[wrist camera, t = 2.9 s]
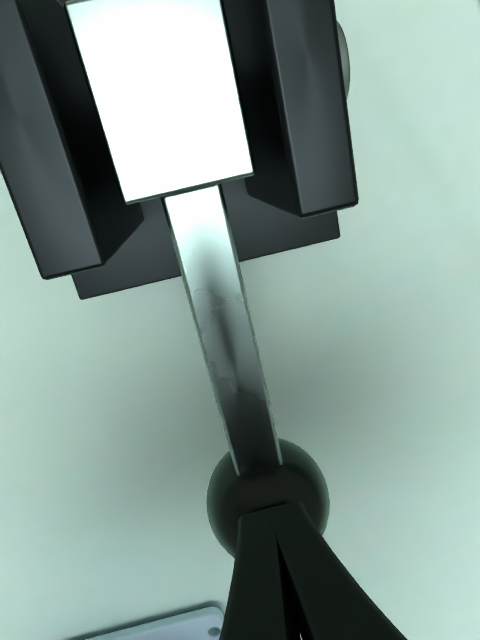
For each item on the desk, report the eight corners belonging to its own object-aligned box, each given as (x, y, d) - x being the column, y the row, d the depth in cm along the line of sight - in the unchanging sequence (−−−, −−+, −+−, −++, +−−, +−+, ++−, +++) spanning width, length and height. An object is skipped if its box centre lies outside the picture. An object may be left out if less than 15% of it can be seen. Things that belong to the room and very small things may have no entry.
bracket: (331, 233, 14) (461, 292, 8) (87, 292, 14) (-10, 408, 7) (286, -67, 12) (424, -400, 5) (-16, -1, 12) (-321, -253, 5)
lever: (318, 489, 13) (354, 581, 10) (218, 514, 13) (227, 614, 10) (228, 15, 9) (248, -49, 6) (76, 50, 9) (23, 0, 6)
